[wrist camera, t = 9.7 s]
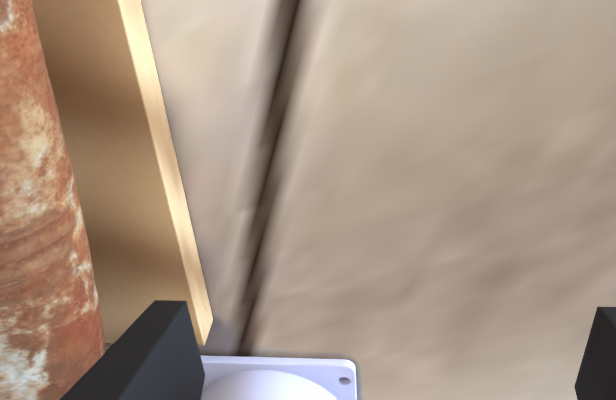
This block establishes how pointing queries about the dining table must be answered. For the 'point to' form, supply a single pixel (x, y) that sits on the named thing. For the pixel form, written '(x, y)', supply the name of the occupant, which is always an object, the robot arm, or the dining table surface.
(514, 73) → the dining table surface
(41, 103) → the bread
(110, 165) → the board
